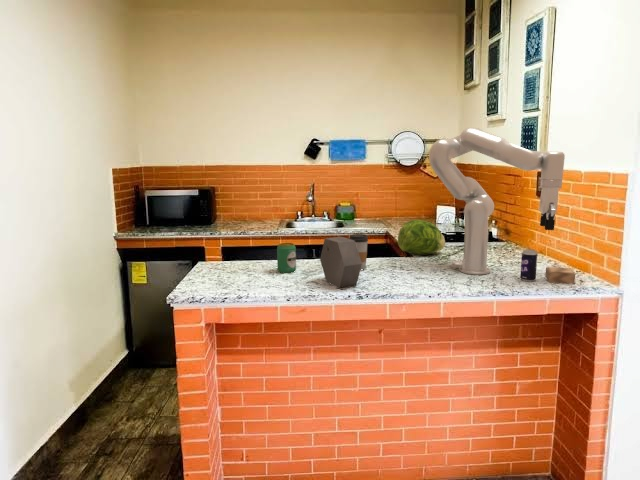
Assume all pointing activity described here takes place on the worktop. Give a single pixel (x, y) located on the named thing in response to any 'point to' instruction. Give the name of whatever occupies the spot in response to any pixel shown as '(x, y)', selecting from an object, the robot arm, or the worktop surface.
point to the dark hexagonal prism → (340, 261)
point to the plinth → (560, 275)
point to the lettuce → (420, 238)
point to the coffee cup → (361, 247)
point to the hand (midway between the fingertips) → (546, 227)
